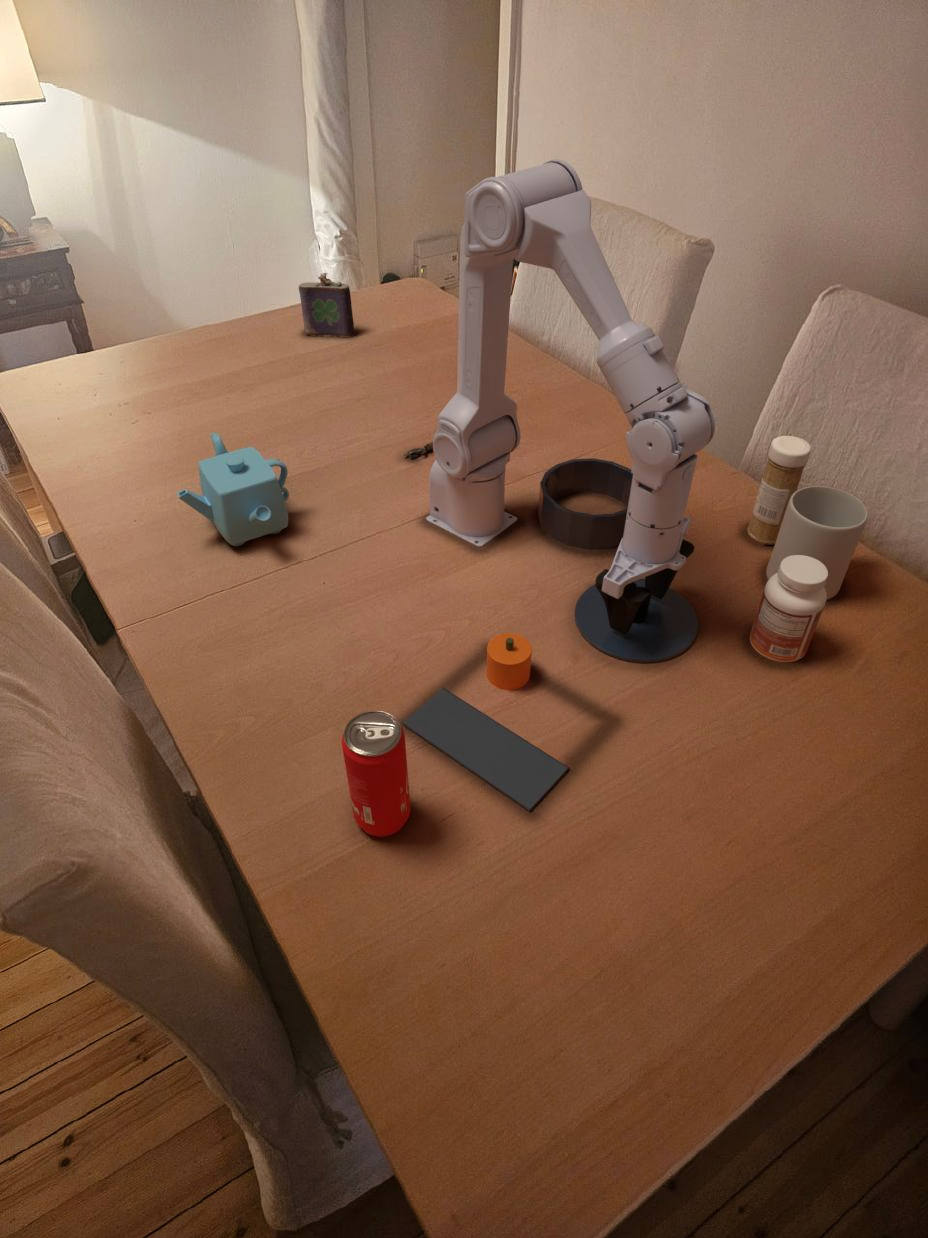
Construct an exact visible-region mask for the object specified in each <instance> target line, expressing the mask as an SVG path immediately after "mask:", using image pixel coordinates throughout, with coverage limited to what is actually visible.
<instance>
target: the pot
mask: <svg viewBox="0 0 928 1238" xmlns="http://www.w3.org/2000/svg"><path fill="white" fill-rule="evenodd" d="M631 470H632V468H629V467H627V466H624V465H622V464H620V463H617V462H614V461H613V460H612V461H611V460H606V459H600V458H599V459H598V458H594V457H593V458H574V459H570V460H567V461H563V462H560V463H557V464H555V465H554V466H552V467H551V468H549V469H547V470H546V471H545V472H544V473H543V476H542V478H541V480H540V483H539V494H538V509H537V518H538V522H539V525H540V528H541V529H543V530H544V531H545V533H546V534H547V535H548V536H549V537H550V538H552V539H554V540H556V541H558V542H560V543H561V544H563V545H566V546H568V547H572V548H573V547H574V548H579V549H584V550H589V551H591V550H592V551H593V550H606V549H608V550H610V549H612V548H616V547H619V544H620V542H621V540H622V538H623V535H624V529H625V522H626V515H627V509H628V503H629V497H630V491H631V485H632V478H633V473H631ZM572 493H573V494H574V493H593V494H599V495H605V496H607V497H610V498H613V499H615V500H618V501H620V502H622V503H623V504H624V505H625V506H626V507H627V508H626V509H623V510H620V511H617V512H614V513H599V514H598V513H597V514H591V513H586V512H580V511H574V510H572V509H570V508H568V507H566V506H563V505H561V504H560V503H558V502H557V501H556V499H557V498H559V497H562V496H566V495H569V494H572Z"/></svg>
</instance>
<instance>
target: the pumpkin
mask: <svg viewBox="0 0 928 1238" xmlns="http://www.w3.org/2000/svg"><path fill="white" fill-rule="evenodd" d="M532 652H533V648H532V644H531V643H530V641H529V640H528V639H527V638H526V637H524V636H522V635H520V634H518V633H511V632H505V633H501V634H497V635H495V636H494V637H493V638H491V639H490V640H489V641H488V644H487V647H486V678H487V680H488V682H489V683H490V684H491V685H492V686H494V687H495V688H497V689H500V690H504V691H514V690H519V689H521V688H523V687H524V686H525V685H526V684H527V683H528V682H529V680H530V678H531V663H532V654H533V653H532Z"/></svg>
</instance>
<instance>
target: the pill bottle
mask: <svg viewBox="0 0 928 1238" xmlns="http://www.w3.org/2000/svg"><path fill="white" fill-rule="evenodd" d="M827 577H828V570H827V568H826V567H825V565H824V564H823V563H821V562H820V561H818V560H817V559H814V558H812V557H809V556H804V555H792V556H788V557H786V558H785V559H783V560H782V562H781V564H780V567H779V570H778V573H776V574H774V575H773V576H772V577H771V578H770V579H769V580H768V579H767V582H766V583H765V585H764V589H763V591H762V595H761V598H760V600H759V604H758V608H757V611H756V615H755V618H754V620H753V623H752V626H751V630H750V635H749V641H750V644H751V647H752V648H753V649H754V650H755V651H756V652H757V653H758V654H760V655H761V656H763V657H765V658H766V659H769V660H772V661H775V662H780V663H793V662H796V661H798V660H800V659H802V658H803V657H804V656H805V655H806V653H807V651H808V649H809V647H810V644H811V642H812V639H813V636H814V634H815V631H816V629H817V626H818V623H819V621H820V619H821V616H822V613H823V611H824V608H825V605H826V603H827V600H828V599H827V594H826V590H825V588H824V586H825V583H826V580H827ZM826 599H827V600H826Z"/></svg>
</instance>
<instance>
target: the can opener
mask: <svg viewBox="0 0 928 1238" xmlns="http://www.w3.org/2000/svg"><path fill="white" fill-rule="evenodd" d="M429 451H433V441H431V442H429V443H426V444H425V445H424V447H421V448H420V447H415V448H413V449H409V450H407V451H406V452H405V453H404V454H403V456H404V457H405V456H407V455H408V457H409V458H410V459H414V458H415V457H416V456H417V455H418V454H420V455H424V454H426V453H427V452H429Z"/></svg>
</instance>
